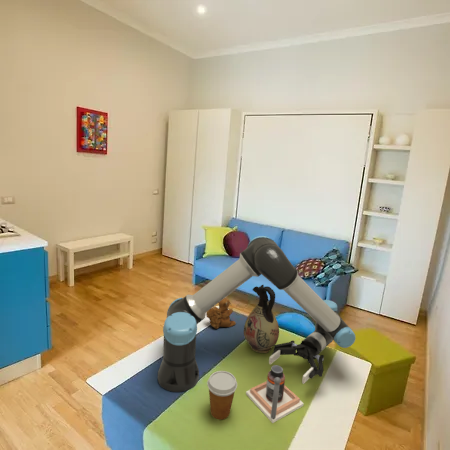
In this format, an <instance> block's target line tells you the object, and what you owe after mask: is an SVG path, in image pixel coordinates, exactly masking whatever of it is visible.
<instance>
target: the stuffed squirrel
mask: <svg viewBox="0 0 450 450" xmlns="http://www.w3.org/2000/svg"><path fill="white" fill-rule="evenodd" d="M230 306H233V305H232V303H231V302H230V299H228V298H227V297H225V298H224V299H223V300H221V301H220V302H219V303H218V307H217V306H214V307H212V308H211V309H210V310H208V311H207V312H206V315H205V317H206V318H207V319H209V324H210V326H211V327H212V328H214V329H216V330H218V329H219V328H230V327H233V326H235V325H236V324H237V323H236V321H235V320H231V319H230V316H231V314H233V311H234V309H233V308H229V307H230ZM228 308H229V309H228Z"/></svg>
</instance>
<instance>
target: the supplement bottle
mask: <svg viewBox="0 0 450 450" xmlns="http://www.w3.org/2000/svg"><path fill="white" fill-rule="evenodd" d="M276 377H279V378H280V379H281V382H280V386H279V394H278V402H281V401H282V399H283V393H284V385H286V384H285V381H286V376H285V373H284V369H283V367H282V366H280V365H278V364H273V365H272V366H271V367H270V370H269V371H268V373H267V378H266V381H267V387H266V397H267V399H268V400H269V401H271V402H272V401H273V392H274V384H275V382H274V379H275V378H276Z"/></svg>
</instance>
